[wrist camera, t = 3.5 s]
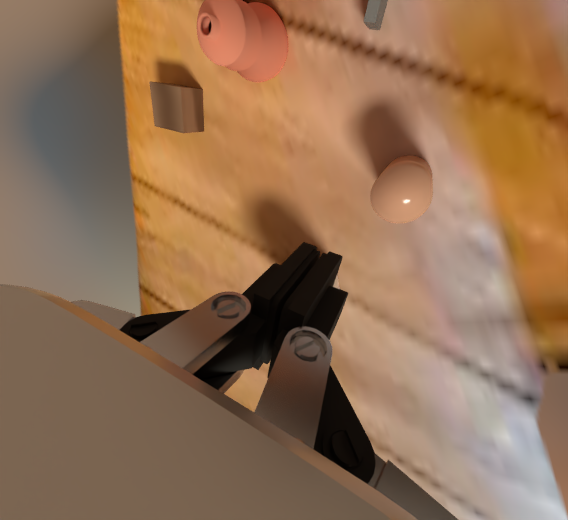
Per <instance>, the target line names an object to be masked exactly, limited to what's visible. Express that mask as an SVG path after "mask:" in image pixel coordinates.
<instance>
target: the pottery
mask: <svg viewBox="0 0 568 520" xmlns="http://www.w3.org/2000/svg"><path fill="white" fill-rule="evenodd" d="M197 35H198V40H199V43H200V46H201V48H202V50H203V52H204V53H205V55H206V56H207V57H208V58H209V59H210V60H211V61H212V62H214V63H215V64H217V65H220V66H225V67H227V68H228V69H230V70H233V71H237V72H238V73H239V74H240V75H241V76H242V77H244V78H245V79H247V80H249V81H252V82H264V81H267V80H269V79H271V78H273V77H275V76H276V75H277V74H278V73H279V72H280V70H281V69H282V67H283V65H284V64H285V61H286V58H287V53H288V36H287V32H286V29H285V26H284V24H283V22H282V21H281V19H280V17H279V16H278V14H277V13H276V12H275V11H274V10H273V9H272V8H271V7H269V6H268V5H266V4H264V3H260V2H250V3H248V4H247V3H246V2H244V1H242V0H205V1H204V2H203V4H202V6H201V8H200V10H199V14H198V19H197Z"/></svg>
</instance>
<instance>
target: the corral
mask: <svg viewBox="0 0 568 520" xmlns="http://www.w3.org/2000/svg"><path fill="white" fill-rule="evenodd" d="M242 1H243V0H242ZM387 1H388V0H369V1H368V5H367V9H366V14H365V18H364V23H365V24H366V26H367V27H368V28H369V29H375V30H380V27H381V23H382V20H383V16H384V12H385V8H386V5H387Z"/></svg>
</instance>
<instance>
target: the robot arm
mask: <svg viewBox="0 0 568 520" xmlns="http://www.w3.org/2000/svg"><path fill="white" fill-rule="evenodd" d="M319 255H320V251H317V247H316V246H313V245H311V244H308V243H305V242H303V243H302V244H301V245H300V246H299V247H298V248H297V249H296V250H295V251H294V252H293V253H292V254H291V256H290V257H289V258H288V259H287V260H286V261H285V262H284V263H283V264H282V265H279V264H276V263H275V264H273V265H272V266H271V267H270V268H269V269H268V270H267V271H266V272H265V273H263V274H262V275H261V276H260V277H259V278H258V279H257V280H256V281H255V282H254V283H253V284H252V285H251V286H250V287H249V288H248V289H247V290H246V291H245V292H244V293H243V294H239V293H236V292H222V293H218V294H216V295H214V296H212V297H210V298H209V299H207V300H206V301H204V302H203V303H201V304H199V305H198V306H196V307H195V308H193V309H191V310H184V311H175V312H167V313H158V314H150V315H144V316H139V317H135V314H132V313H129V312H126V311H122V310H118V309H115V308H111V307H108V306H104V305H101V304H97V303H94V302H90V301H83V300H80V301H73V302H69V301H67V300H65V299H63V298H61V297H58V296H55V295H53V294H50V293H47V292H44V291H40V290H36V289H32V288H28V287H22V286H14V285H3V284H0V520H458V519H457V518H456V517H455V516H453V515H452V514H451V513H450V512H449V511H448V510H446V509H445V508H444V507H443V506H442V505H441V504H439V503H438V502H437V501H436V500H435V499H434V498H432V497H431V496H430V495H429V494H428V493H427V492H425V491H424V490H423V489H422V488H421V487H420V486H418V485H417V484H416V483H415V482H414V481H413V480H411V479H410V478H409V477H408V476H407V475H406V474H404V473H403V472H402V471H401V470H400V469H399V468H397V467H396V466H395V465H394V464H393V463H392V462H390V461H389V460H388V461H387V462H385V461H383V460H382V459H381V458H380V457H379V456H378V455H377V454H375V453H374V450H373V448H372V445H371V443H370V440H369V438H368V437H367V435H366V433H365V431H364V429H363V427H362V425H361V423H360V421H359V419H358V417H357V416H356V414H355V412H354V410H353V408H352V406H351V404H350V402H349V400H348V398H347V396H346V394H345V393H344V391H343V389H342V387H341V385H340V383H339V381H338V379H337V377H336V375H335V373H334V371H333V370H332V368H331V366H330V362H331V357H332V346H331V343H330V341H329V340H330V337H331V335H332V333H333V331H334V328H335V326H336V324H337V322H338V319H339V317H340V314H341V312H342V309H343V306H344V304H345V301H346V298H347V295H348V292H345V291H343V290H340V289H338V288H335V287H333V285H334V282H335V279H336V276H337V273H338V270H339V267H340V264H341V261H342V256H341V255H338V254H335V253H332V252H329V253H328V254H325V253H323V254H322V255H321V256H320V258H319ZM270 360H271V362H270ZM263 362H264V363H265V364H268V363H269V362H270V367H269V372H268V380H267V383H266V385H265V388H264V390H263V393H262V395H261V398H260V400H259V402H258V405H257V407H256V410H255V412H252V411H251V410H249V409H247V408H246V407H244V406H242V405H241V404H239V403H238V402H236V401H234V400H233V399H231V398H229V397H228V396H226V395H225V394H224V393H225V392H226V391H227V390H228V389H229V388H230V387H231V386H232V385H233V384H234V383H235V382H236V381H237V379H238V378H239V377H240V376H241V375H242V373H243V371H244V370H245V369H249V368H252V367H254V368H256V369H257V370H259V368H260V367H261V365H262V364H263Z"/></svg>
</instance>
